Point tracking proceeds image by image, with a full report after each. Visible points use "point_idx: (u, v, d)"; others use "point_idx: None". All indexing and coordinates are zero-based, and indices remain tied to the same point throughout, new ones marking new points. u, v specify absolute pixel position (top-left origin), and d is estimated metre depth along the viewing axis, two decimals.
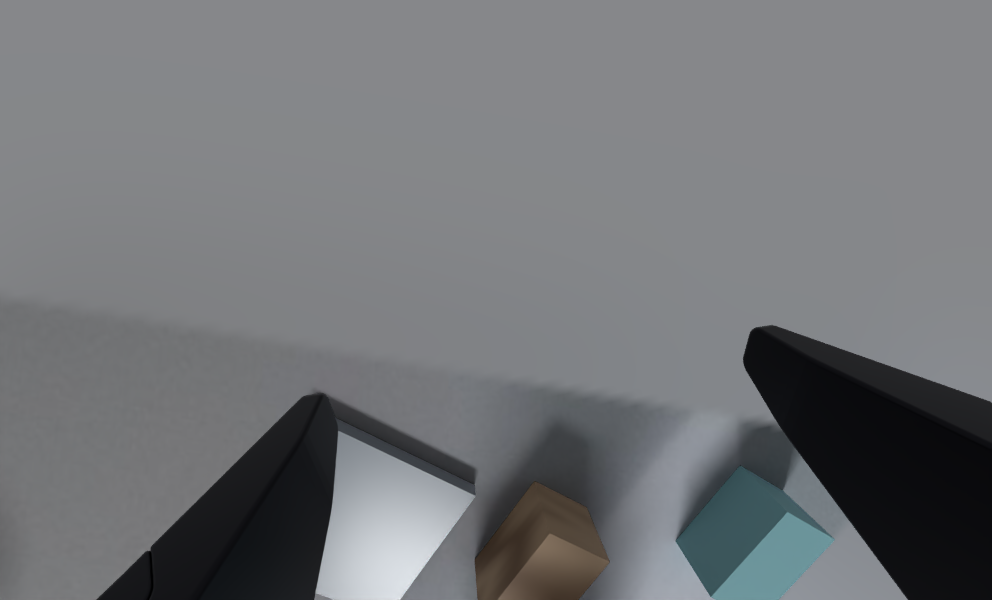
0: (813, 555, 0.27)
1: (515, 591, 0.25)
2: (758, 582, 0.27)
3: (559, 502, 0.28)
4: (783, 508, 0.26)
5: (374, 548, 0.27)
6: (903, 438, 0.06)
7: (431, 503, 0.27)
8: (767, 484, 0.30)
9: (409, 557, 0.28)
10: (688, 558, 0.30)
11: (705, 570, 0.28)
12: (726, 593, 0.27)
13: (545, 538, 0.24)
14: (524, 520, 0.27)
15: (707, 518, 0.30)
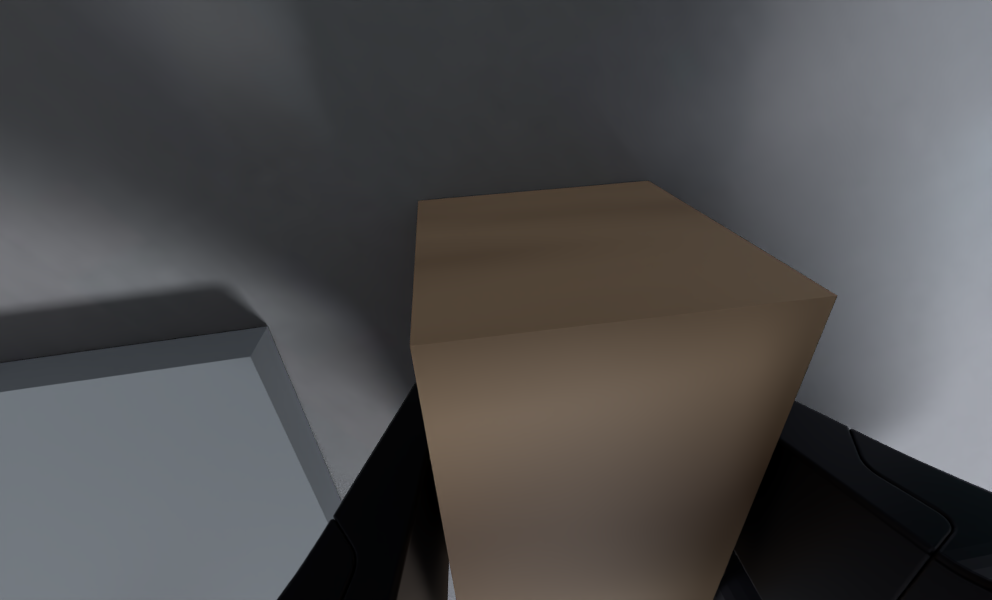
0: None
1: (491, 578, 0.06)
2: None
3: (522, 212, 0.07)
4: None
5: (200, 575, 0.11)
6: None
7: (172, 441, 0.09)
8: None
9: (288, 549, 0.11)
10: None
11: None
12: None
13: (416, 380, 0.04)
14: None
15: None
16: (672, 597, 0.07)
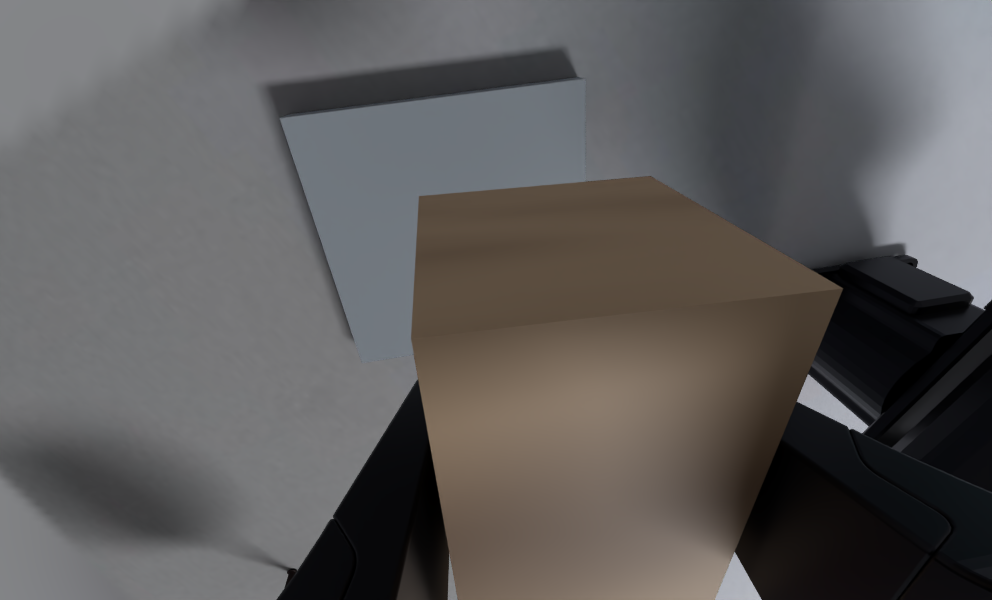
0: None
1: (493, 575, 0.06)
2: None
3: (524, 207, 0.07)
4: None
5: None
6: None
7: (531, 136, 0.17)
8: None
9: None
10: None
11: None
12: None
13: (418, 374, 0.04)
14: None
15: None
16: (674, 595, 0.07)
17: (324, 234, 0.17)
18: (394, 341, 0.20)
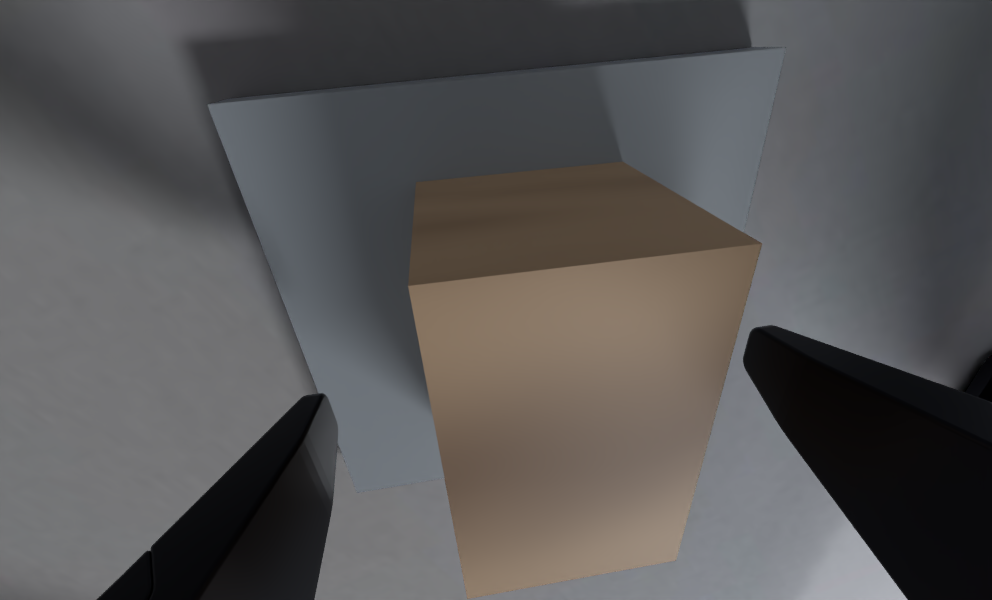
0: None
1: (483, 505, 0.07)
2: None
3: (508, 188, 0.08)
4: None
5: None
6: (903, 438, 0.06)
7: (671, 151, 0.09)
8: None
9: None
10: None
11: None
12: None
13: (414, 318, 0.05)
14: None
15: None
16: (646, 529, 0.08)
17: (297, 311, 0.10)
18: (408, 463, 0.13)
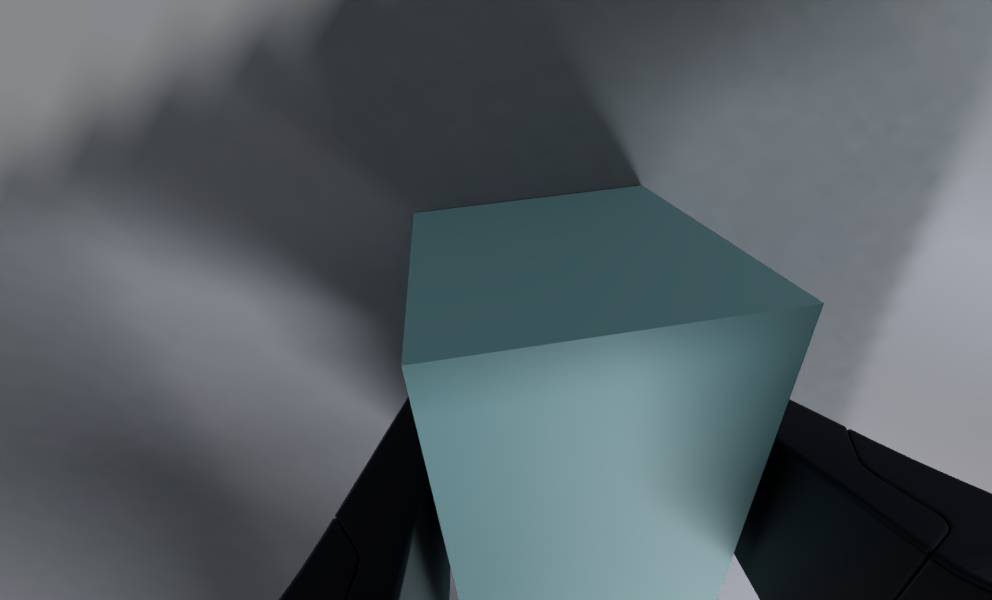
0: (752, 419, 0.05)
1: None
2: (593, 585, 0.07)
3: None
4: (410, 346, 0.05)
5: None
6: None
7: None
8: (527, 216, 0.07)
9: None
10: None
11: None
12: None
13: None
14: None
15: None
16: None
17: None
18: None
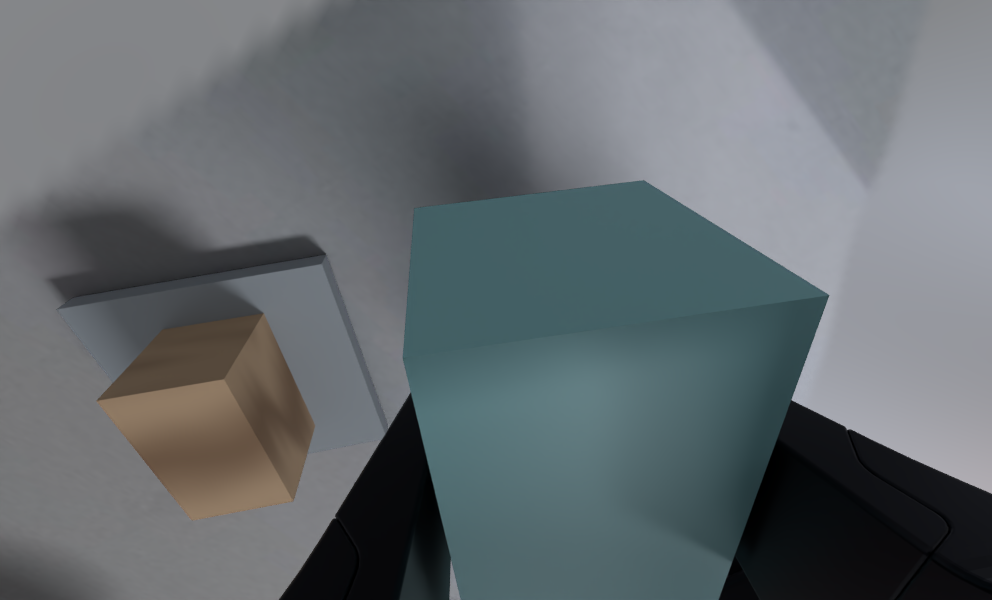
0: (755, 413, 0.05)
1: (172, 475, 0.18)
2: (596, 582, 0.07)
3: (190, 337, 0.18)
4: (411, 338, 0.04)
5: None
6: None
7: (286, 307, 0.19)
8: (529, 211, 0.07)
9: (337, 373, 0.22)
10: None
11: None
12: None
13: (104, 409, 0.16)
14: None
15: None
16: (262, 485, 0.19)
17: None
18: None
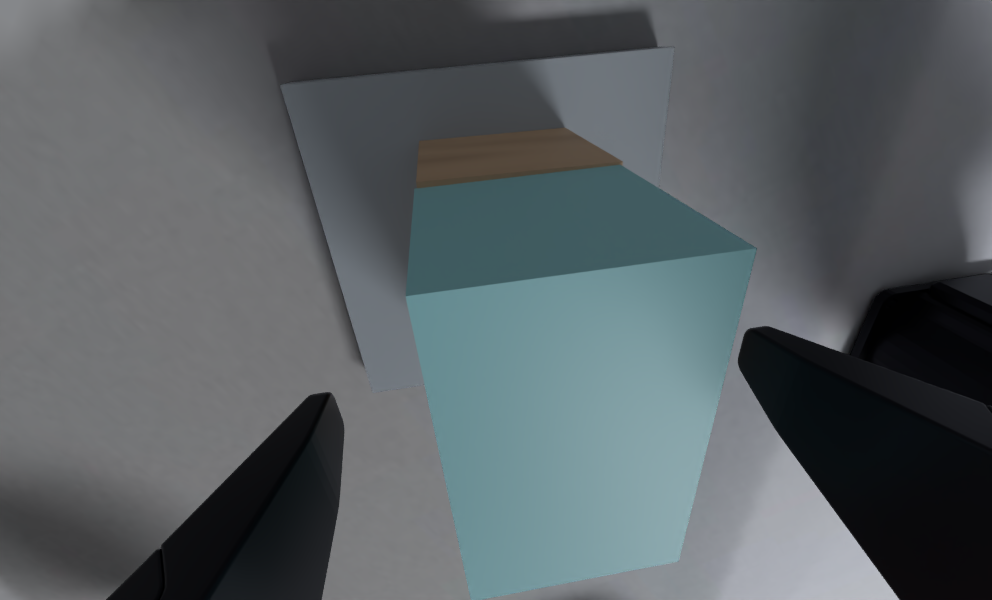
0: (704, 354, 0.06)
1: None
2: (573, 513, 0.08)
3: (481, 142, 0.12)
4: (412, 283, 0.05)
5: None
6: (895, 439, 0.06)
7: (599, 119, 0.13)
8: (516, 190, 0.08)
9: None
10: None
11: None
12: (505, 576, 0.09)
13: None
14: None
15: None
16: None
17: (333, 237, 0.14)
18: (412, 368, 0.17)
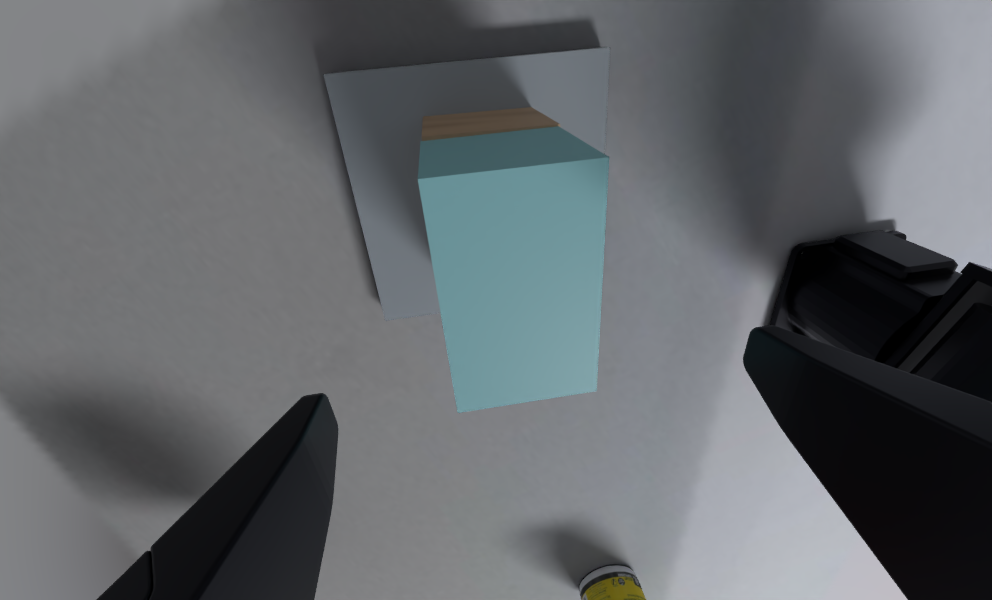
0: (589, 225, 0.11)
1: None
2: (521, 341, 0.12)
3: (468, 116, 0.17)
4: None
5: None
6: (903, 438, 0.06)
7: (557, 101, 0.18)
8: (486, 139, 0.13)
9: None
10: None
11: None
12: (480, 392, 0.13)
13: None
14: None
15: None
16: None
17: (358, 190, 0.18)
18: (417, 300, 0.21)
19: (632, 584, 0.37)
